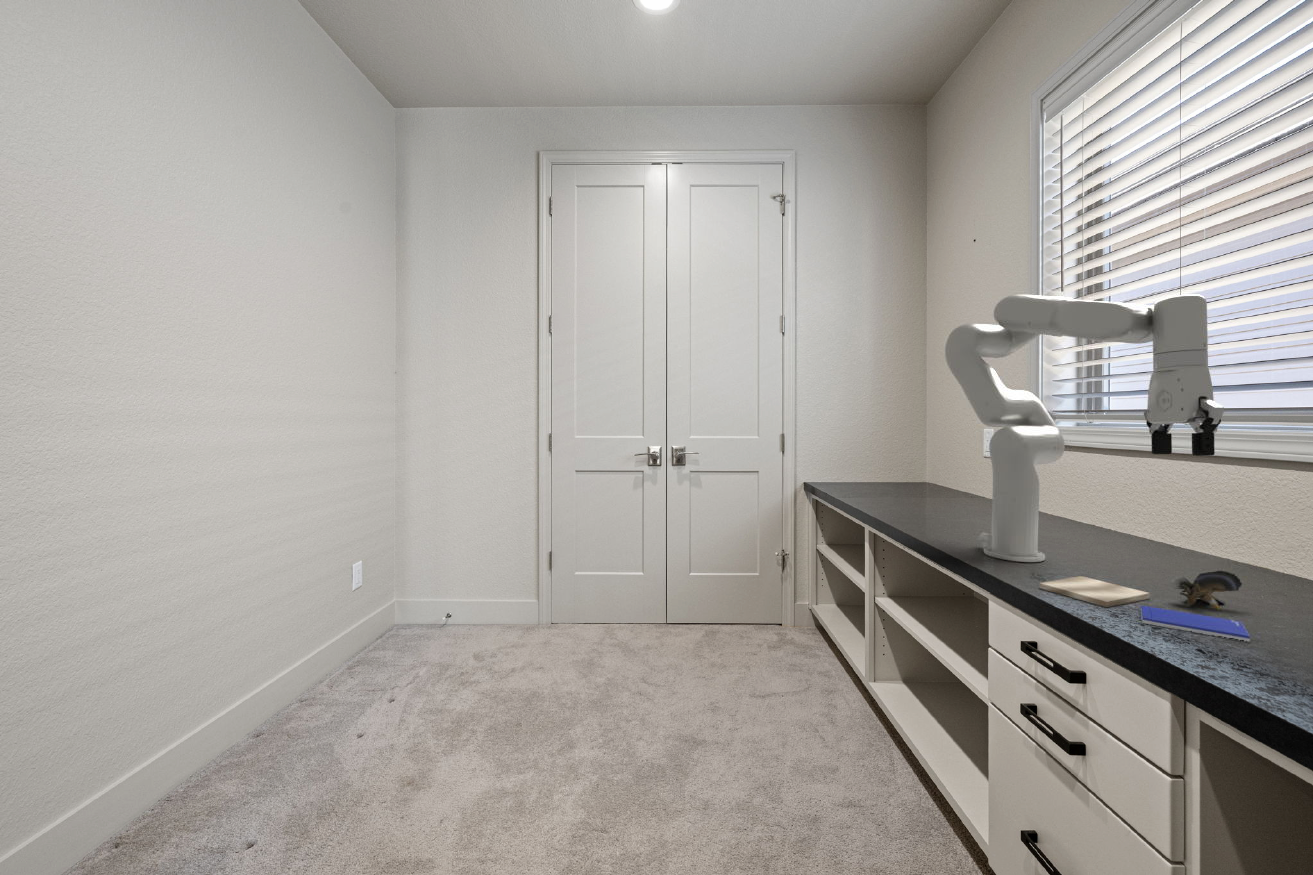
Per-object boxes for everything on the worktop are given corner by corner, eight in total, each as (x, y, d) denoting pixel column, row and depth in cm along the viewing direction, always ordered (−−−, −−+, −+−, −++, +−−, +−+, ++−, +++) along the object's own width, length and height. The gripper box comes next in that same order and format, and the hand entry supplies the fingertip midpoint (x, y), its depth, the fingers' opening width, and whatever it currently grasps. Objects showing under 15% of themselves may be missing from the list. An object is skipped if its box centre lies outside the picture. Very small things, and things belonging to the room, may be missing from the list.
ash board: (1039, 587, 112) (1039, 582, 112) (1080, 580, 117) (1081, 575, 117) (1106, 607, 101) (1107, 601, 101) (1149, 598, 106) (1149, 593, 106)
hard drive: (1240, 620, 92) (1140, 604, 100) (1250, 635, 86) (1142, 616, 93) (1240, 630, 92) (1140, 612, 100) (1249, 645, 86) (1142, 626, 94)
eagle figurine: (1228, 611, 96) (1256, 595, 99) (1197, 571, 99) (1225, 557, 102) (1183, 621, 102) (1210, 606, 106) (1155, 583, 105) (1182, 570, 109)
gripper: (1125, 369, 115) (1127, 453, 114) (1195, 357, 97) (1197, 456, 97) (1166, 368, 114) (1168, 453, 114) (1244, 355, 96) (1246, 455, 96)
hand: (1181, 454), depth 105 cm, fingers open, 9 cm apart
